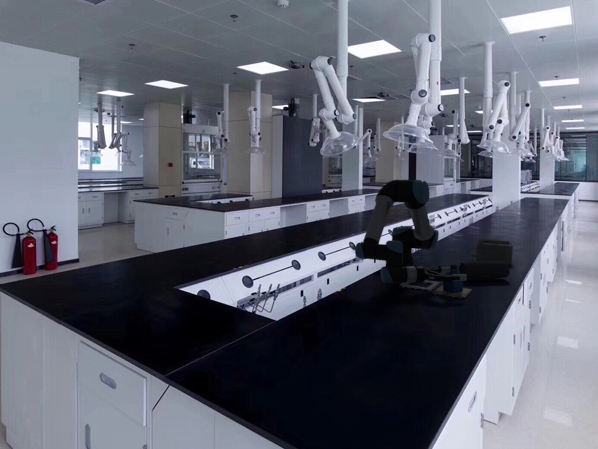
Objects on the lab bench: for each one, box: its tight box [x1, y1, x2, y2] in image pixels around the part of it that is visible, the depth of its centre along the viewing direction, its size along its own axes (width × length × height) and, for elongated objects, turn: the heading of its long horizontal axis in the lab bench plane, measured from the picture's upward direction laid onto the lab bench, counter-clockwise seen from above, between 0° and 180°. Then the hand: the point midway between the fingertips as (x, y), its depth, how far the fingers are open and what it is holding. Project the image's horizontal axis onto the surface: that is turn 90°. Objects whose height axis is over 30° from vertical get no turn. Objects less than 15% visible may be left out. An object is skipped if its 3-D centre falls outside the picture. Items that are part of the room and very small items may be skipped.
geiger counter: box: [467, 237, 514, 265], centre depth 267 cm, size 14×6×25 cm
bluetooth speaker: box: [458, 260, 511, 282], centre depth 226 cm, size 23×9×10 cm, turn 92°
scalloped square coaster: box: [399, 279, 441, 292], centre depth 217 cm, size 15×15×1 cm
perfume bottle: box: [442, 264, 464, 293], centre depth 203 cm, size 6×6×12 cm
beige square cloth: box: [432, 284, 473, 299], centre depth 204 cm, size 14×14×1 cm
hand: (460, 273), depth 203 cm, fingers open, 13 cm apart
